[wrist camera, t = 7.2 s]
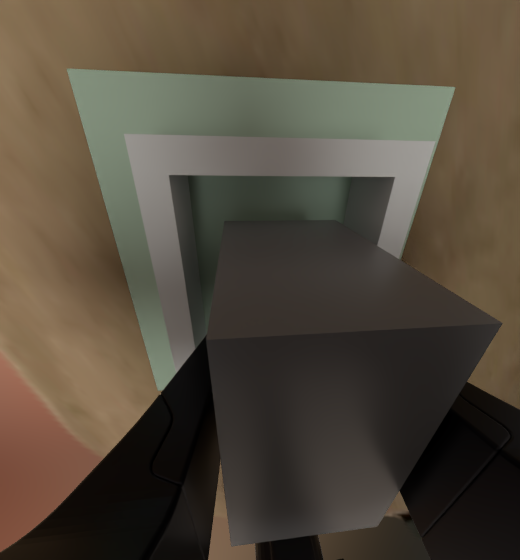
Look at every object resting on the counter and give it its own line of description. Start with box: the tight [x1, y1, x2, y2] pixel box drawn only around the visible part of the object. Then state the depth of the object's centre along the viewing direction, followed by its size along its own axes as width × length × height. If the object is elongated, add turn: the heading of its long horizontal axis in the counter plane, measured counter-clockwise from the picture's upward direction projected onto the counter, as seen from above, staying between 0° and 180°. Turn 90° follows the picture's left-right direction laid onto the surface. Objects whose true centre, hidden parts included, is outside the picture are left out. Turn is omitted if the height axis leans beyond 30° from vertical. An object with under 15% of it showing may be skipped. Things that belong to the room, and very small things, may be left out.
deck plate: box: [67, 69, 455, 391], centre depth 11 cm, size 16×14×4 cm
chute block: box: [206, 220, 502, 546], centre depth 7 cm, size 7×4×6 cm, turn 179°
